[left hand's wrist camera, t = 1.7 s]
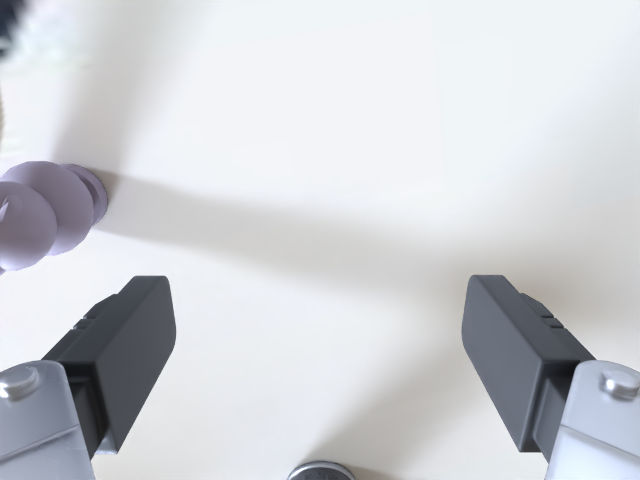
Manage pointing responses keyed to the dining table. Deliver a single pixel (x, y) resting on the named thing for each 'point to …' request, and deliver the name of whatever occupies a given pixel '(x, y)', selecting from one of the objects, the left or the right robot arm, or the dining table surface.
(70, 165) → the cat figurine
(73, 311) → the dining table surface
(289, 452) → the dining table surface
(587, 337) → the dining table surface
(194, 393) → the dining table surface
